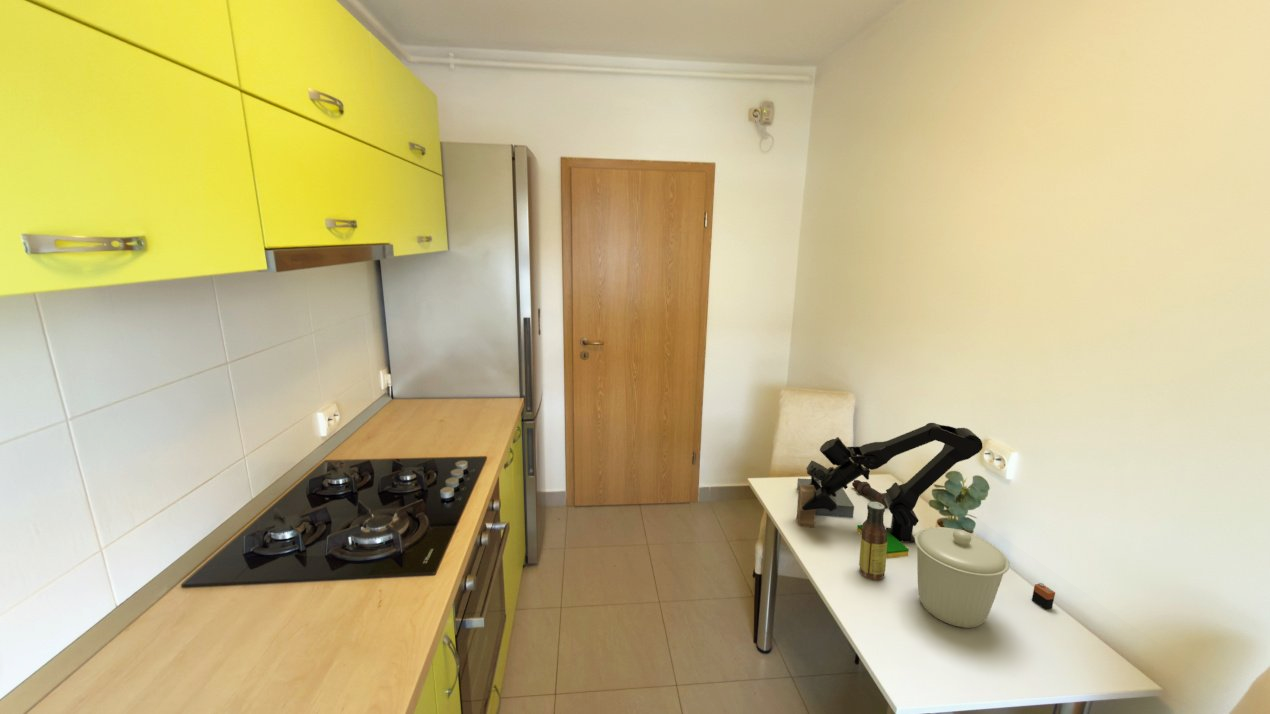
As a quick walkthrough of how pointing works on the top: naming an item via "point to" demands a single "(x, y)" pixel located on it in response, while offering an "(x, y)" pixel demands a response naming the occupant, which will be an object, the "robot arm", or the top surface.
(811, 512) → the walnut block
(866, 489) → the bolt
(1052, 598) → the battery
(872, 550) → the sauce bottle
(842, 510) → the hole plate
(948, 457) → the robot arm
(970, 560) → the canister
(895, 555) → the dish sponge
